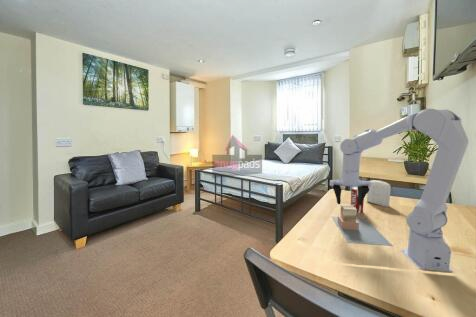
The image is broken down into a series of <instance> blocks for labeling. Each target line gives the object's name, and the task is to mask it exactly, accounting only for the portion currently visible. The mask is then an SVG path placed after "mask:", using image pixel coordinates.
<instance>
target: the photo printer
mask: <svg viewBox="0 0 476 317" xmlns="http://www.w3.org/2000/svg"><path fill="white" fill-rule="evenodd" d="M369 181H370V182H372V185H371V187H368V188H369V192H368V193H367V194H366V202H368V203H371V204H375V205H377V206H381V207H385V208H387V207H389V206H390V198H391V188H392V187H391V186H392V185H391V184H390V183H388V182H385V181H383V180H378V179H377V180H374V179H373V180H369Z"/></svg>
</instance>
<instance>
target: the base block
mask: <svg viewBox="0 0 476 317" xmlns="http://www.w3.org/2000/svg"><path fill="white" fill-rule="evenodd" d="M337 217H338V224H339V225H340V227H341V229H347V230H359V222H358V221H357V220H356V222H351V221H343V219H342V218H341V217H340V215H338V216H337Z"/></svg>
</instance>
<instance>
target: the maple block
mask: <svg viewBox="0 0 476 317" xmlns="http://www.w3.org/2000/svg"><path fill="white" fill-rule="evenodd" d="M339 216H340V217H341V218H342V219H343V221H351V222H356V218H358V217H357V209H356V208H355V207H354V206H353V205H351V204H340V214H339Z"/></svg>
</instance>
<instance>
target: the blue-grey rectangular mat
mask: <svg viewBox="0 0 476 317" xmlns="http://www.w3.org/2000/svg"><path fill="white" fill-rule="evenodd" d="M331 218H332V220H333V222H334V223H335V225H336V226H337V228H338V230H339V231H340V233H341V234H342V236H343V237H344V239H345V241H346V242H347V243H349V244H363V245H373V246H374V245H375V246H376V245H377V246H390V247H393V244H392V243H391V242H390V241H389V240H388V239H387V238H386V237H385V236H384V235H383V234H382V233H381V232H380V231H379V230H378V229H377V228H376V227H375V225H373V224H372V223H371V222H370V221H369V220H368V219H367V218H364V217H362V218H361V217H356V220H357V221H358V222H359V230H347V229H341V227H340V225H339V224H338V216H331Z"/></svg>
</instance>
